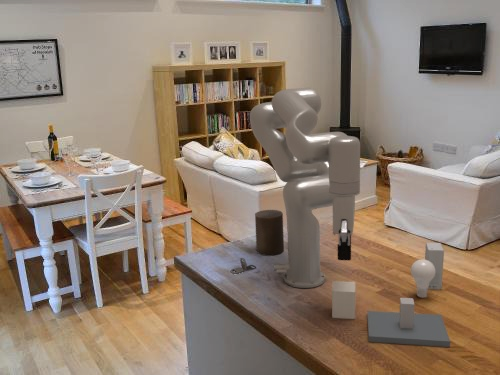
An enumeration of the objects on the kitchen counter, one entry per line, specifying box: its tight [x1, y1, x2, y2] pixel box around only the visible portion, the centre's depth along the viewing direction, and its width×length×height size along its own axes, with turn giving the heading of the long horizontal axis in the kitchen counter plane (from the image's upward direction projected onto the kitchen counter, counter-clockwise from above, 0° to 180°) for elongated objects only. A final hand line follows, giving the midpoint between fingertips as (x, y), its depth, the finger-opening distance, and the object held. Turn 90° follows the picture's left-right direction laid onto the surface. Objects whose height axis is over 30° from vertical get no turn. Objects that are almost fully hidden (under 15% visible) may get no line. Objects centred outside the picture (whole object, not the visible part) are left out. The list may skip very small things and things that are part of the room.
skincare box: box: [424, 242, 445, 290], centre depth 142 cm, size 6×4×12 cm
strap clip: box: [230, 257, 257, 275], centre depth 159 cm, size 8×3×4 cm, turn 122°
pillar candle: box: [254, 209, 285, 257], centre depth 172 cm, size 10×10×15 cm
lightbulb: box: [410, 258, 436, 299], centre depth 135 cm, size 6×6×11 cm
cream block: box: [331, 280, 356, 320], centre depth 129 cm, size 6×6×8 cm
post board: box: [366, 297, 451, 348], centre depth 120 cm, size 18×12×8 cm, turn 79°
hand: (344, 252), depth 126 cm, fingers open, 9 cm apart
